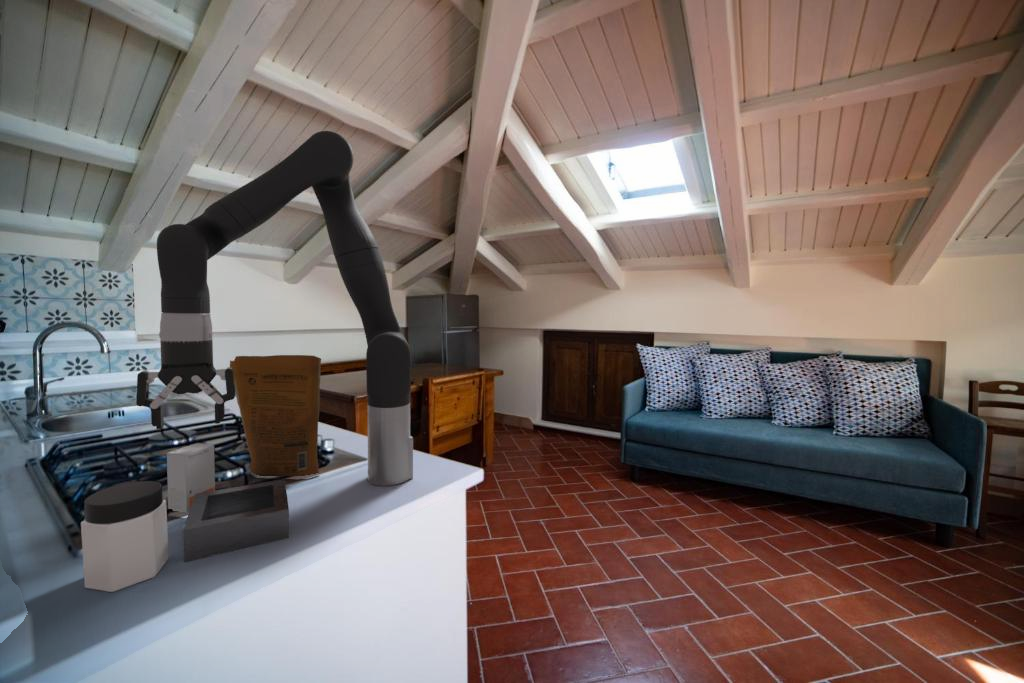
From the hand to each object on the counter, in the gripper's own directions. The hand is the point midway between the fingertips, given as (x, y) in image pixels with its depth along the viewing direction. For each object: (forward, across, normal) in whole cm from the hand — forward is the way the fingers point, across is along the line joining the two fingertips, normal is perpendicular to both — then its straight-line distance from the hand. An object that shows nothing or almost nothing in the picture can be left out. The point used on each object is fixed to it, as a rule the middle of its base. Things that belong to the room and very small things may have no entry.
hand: (189, 425), depth 78 cm
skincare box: (+16, 0, 0) cm, 17 cm away
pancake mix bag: (+16, -15, -10) cm, 24 cm away
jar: (+16, +5, +19) cm, 25 cm away
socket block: (+16, -8, +12) cm, 22 cm away
